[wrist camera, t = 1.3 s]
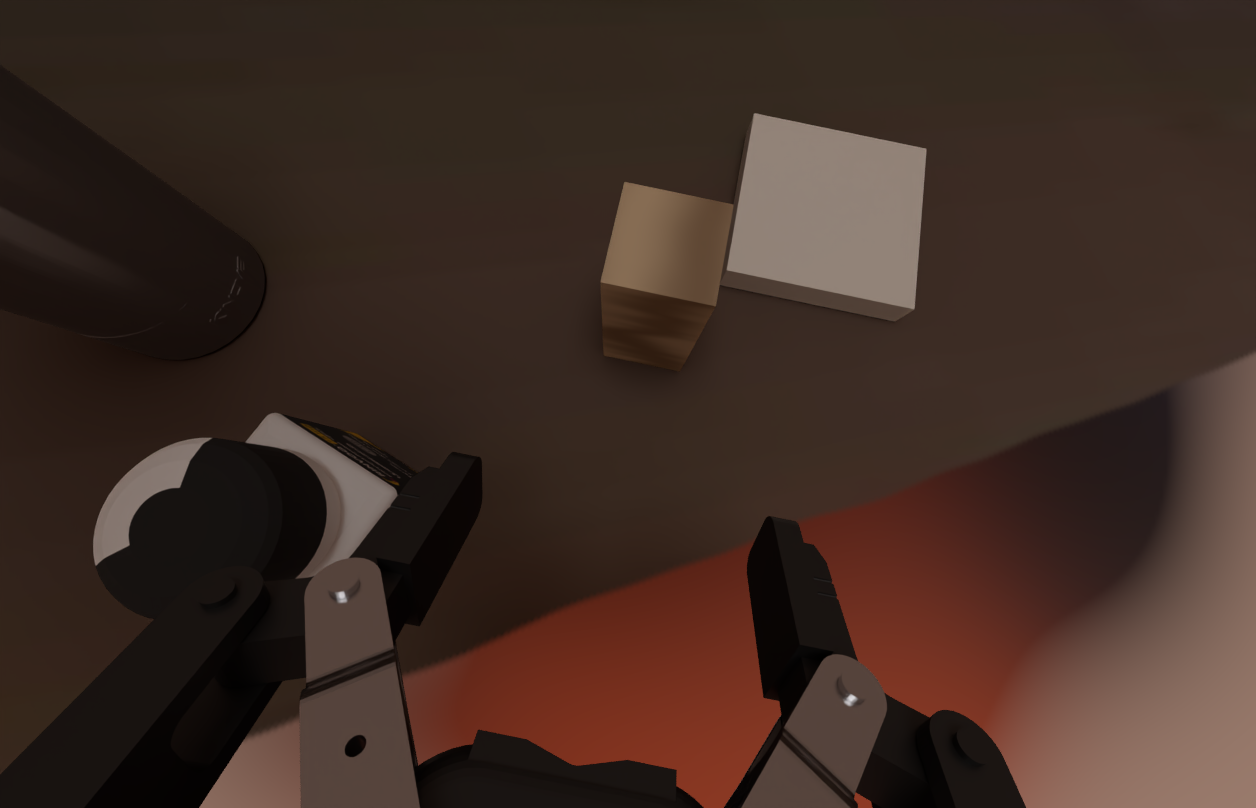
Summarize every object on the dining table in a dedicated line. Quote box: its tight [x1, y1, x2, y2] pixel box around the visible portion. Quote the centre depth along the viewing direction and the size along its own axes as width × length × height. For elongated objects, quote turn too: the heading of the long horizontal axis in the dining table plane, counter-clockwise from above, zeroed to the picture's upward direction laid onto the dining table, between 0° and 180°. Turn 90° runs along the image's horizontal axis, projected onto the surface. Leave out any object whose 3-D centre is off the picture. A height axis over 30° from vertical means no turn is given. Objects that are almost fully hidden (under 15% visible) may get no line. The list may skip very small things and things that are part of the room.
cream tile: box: [720, 113, 926, 322], centre depth 30 cm, size 12×12×2 cm
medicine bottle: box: [93, 413, 418, 619], centre depth 20 cm, size 7×7×12 cm
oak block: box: [601, 182, 734, 372], centre depth 25 cm, size 5×5×10 cm
